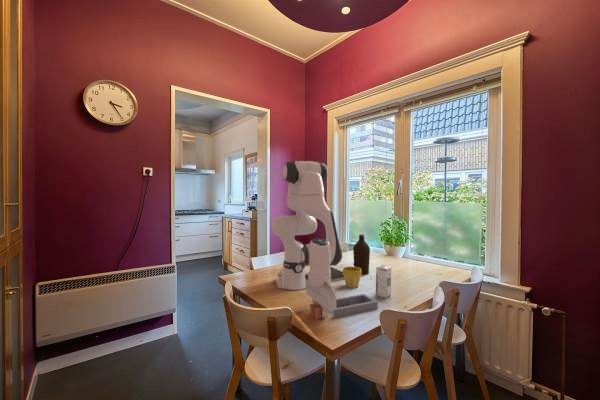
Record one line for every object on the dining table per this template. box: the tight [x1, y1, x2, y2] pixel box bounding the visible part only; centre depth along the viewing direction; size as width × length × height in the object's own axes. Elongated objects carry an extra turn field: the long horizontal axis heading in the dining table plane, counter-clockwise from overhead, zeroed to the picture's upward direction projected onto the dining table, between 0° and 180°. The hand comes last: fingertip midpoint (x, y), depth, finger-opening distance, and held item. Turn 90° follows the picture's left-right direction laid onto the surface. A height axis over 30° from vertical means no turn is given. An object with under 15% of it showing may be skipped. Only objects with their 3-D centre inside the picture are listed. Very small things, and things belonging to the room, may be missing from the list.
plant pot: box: [342, 265, 362, 289], centre depth 139 cm, size 10×10×10 cm
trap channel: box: [327, 293, 379, 319], centre depth 108 cm, size 9×21×4 cm, turn 114°
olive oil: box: [352, 233, 371, 276], centre depth 164 cm, size 11×11×25 cm
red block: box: [309, 302, 328, 320], centre depth 102 cm, size 5×5×5 cm
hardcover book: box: [330, 266, 345, 283], centre depth 159 cm, size 16×23×2 cm
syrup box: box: [375, 264, 392, 299], centre depth 126 cm, size 6×6×14 cm
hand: (319, 313), depth 102 cm, fingers closed on red block, 5 cm apart
